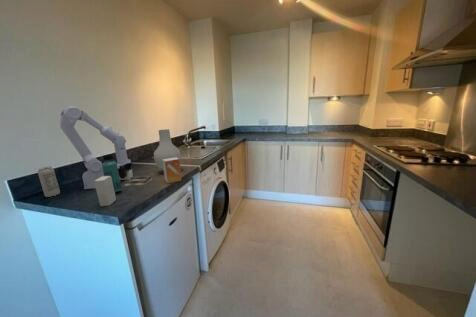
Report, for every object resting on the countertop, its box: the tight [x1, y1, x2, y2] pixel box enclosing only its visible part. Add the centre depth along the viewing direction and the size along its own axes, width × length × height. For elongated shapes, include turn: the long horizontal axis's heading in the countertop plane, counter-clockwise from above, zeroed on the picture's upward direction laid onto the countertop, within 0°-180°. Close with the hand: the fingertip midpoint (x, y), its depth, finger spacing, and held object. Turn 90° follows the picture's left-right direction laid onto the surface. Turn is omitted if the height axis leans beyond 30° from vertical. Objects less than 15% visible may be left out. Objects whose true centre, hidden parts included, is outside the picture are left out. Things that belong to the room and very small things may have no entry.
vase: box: [153, 129, 181, 171], centre depth 131 cm, size 17×16×28 cm
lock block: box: [119, 168, 134, 181], centre depth 124 cm, size 7×4×6 cm, turn 92°
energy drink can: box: [37, 165, 61, 198], centre depth 101 cm, size 6×6×15 cm
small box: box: [162, 157, 183, 184], centre depth 115 cm, size 8×6×13 cm
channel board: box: [123, 175, 153, 187], centre depth 116 cm, size 12×9×2 cm
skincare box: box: [94, 176, 117, 207], centre depth 89 cm, size 6×4×12 cm
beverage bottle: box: [102, 153, 122, 193], centre depth 100 cm, size 6×7×20 cm
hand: (125, 176), depth 124 cm, fingers open, 6 cm apart
